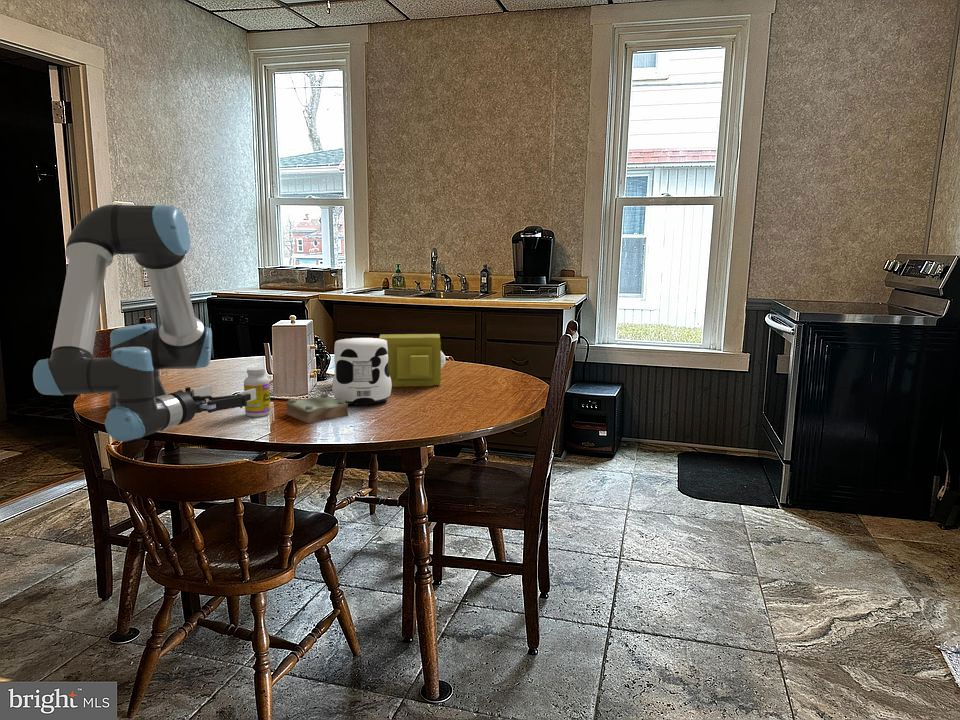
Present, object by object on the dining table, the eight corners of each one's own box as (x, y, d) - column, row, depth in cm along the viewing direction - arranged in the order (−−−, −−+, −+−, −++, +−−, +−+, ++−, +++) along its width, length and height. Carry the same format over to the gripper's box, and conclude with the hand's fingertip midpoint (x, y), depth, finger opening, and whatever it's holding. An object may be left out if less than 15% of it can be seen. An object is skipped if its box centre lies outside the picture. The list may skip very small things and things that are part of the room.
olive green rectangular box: (444, 333, 230) (446, 340, 214) (444, 380, 233) (446, 390, 217) (340, 334, 227) (334, 341, 211) (341, 381, 230) (335, 392, 214)
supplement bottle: (266, 417, 183) (263, 370, 180) (241, 417, 183) (239, 370, 180) (274, 411, 189) (272, 366, 187) (250, 411, 189) (248, 366, 187)
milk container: (365, 392, 214) (363, 335, 211) (404, 400, 203) (403, 341, 200) (320, 402, 201) (318, 341, 197) (359, 411, 190) (357, 347, 187)
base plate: (307, 423, 177) (307, 407, 177) (287, 414, 186) (286, 399, 185) (347, 415, 185) (347, 401, 184) (326, 407, 194) (325, 393, 193)
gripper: (129, 421, 160) (194, 402, 180) (217, 430, 152) (274, 409, 172) (127, 390, 159) (192, 374, 178) (215, 397, 151) (273, 380, 170)
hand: (232, 391), depth 175 cm, fingers open, 13 cm apart
